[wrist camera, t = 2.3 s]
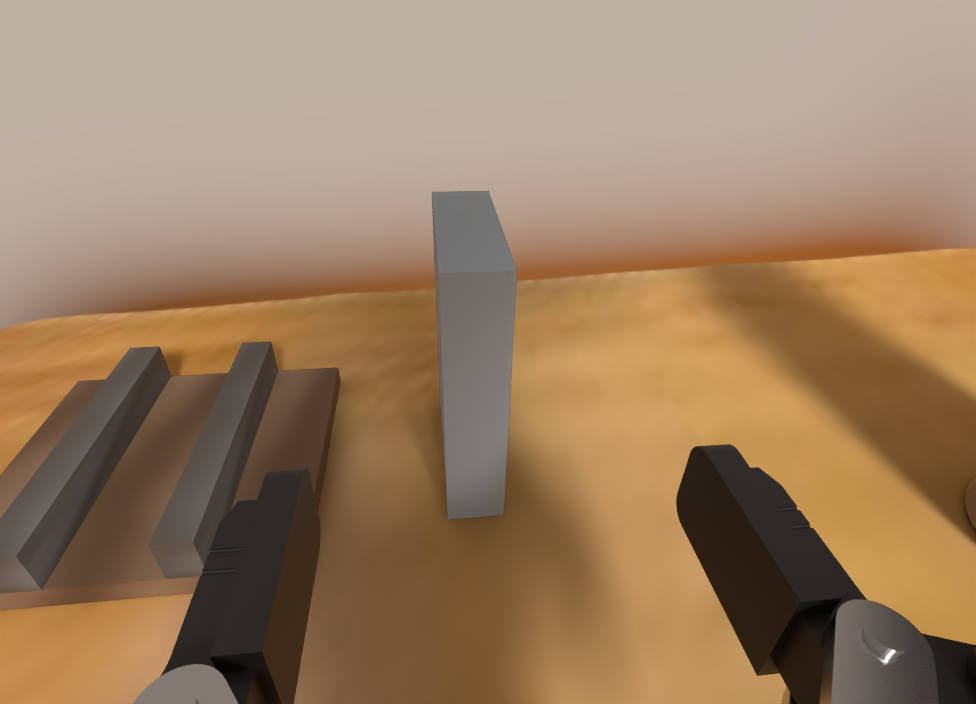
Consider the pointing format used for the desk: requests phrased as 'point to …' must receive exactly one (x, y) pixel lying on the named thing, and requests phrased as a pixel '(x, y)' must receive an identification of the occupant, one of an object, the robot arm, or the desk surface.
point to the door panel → (473, 349)
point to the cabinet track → (152, 474)
